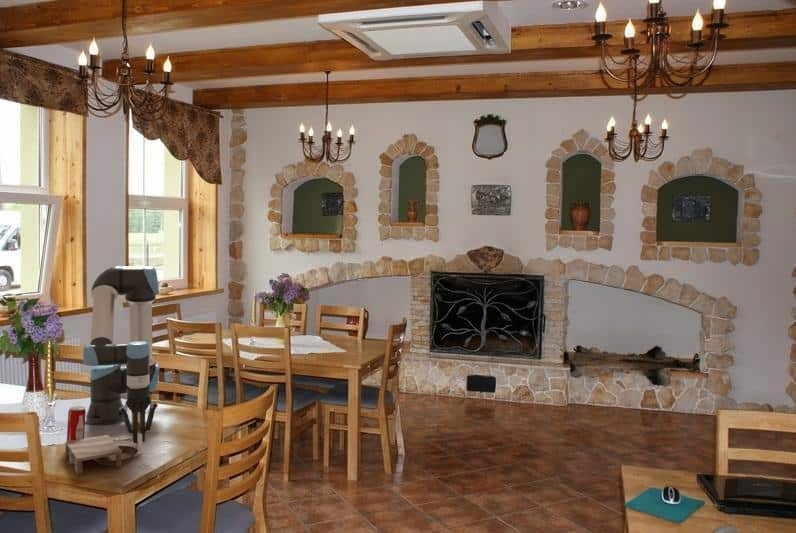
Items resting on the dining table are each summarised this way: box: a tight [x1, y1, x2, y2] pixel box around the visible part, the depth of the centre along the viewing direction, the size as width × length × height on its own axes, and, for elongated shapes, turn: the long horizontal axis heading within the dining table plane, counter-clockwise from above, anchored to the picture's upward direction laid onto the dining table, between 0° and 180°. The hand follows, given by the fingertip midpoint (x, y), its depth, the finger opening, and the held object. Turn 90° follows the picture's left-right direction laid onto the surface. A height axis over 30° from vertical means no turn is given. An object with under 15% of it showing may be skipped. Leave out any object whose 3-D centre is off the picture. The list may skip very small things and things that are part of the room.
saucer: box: [93, 445, 139, 466], centre depth 240 cm, size 15×15×3 cm
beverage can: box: [66, 405, 87, 441], centre depth 250 cm, size 6×6×15 cm
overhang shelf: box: [65, 434, 122, 477], centre depth 236 cm, size 20×14×6 cm
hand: (139, 451), depth 245 cm, fingers closed
